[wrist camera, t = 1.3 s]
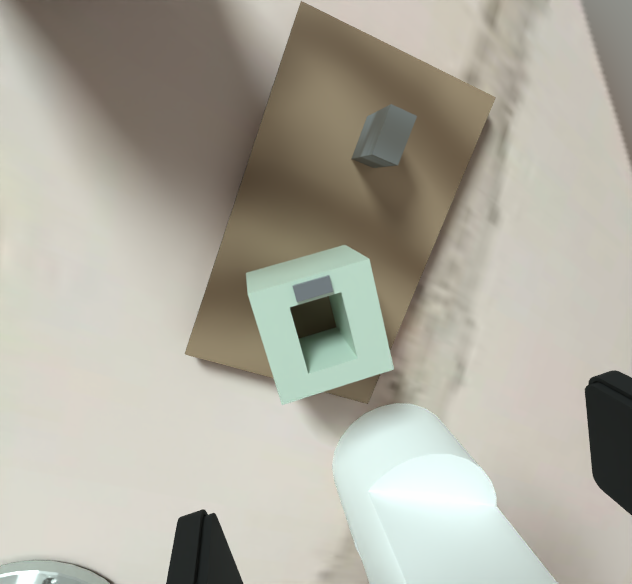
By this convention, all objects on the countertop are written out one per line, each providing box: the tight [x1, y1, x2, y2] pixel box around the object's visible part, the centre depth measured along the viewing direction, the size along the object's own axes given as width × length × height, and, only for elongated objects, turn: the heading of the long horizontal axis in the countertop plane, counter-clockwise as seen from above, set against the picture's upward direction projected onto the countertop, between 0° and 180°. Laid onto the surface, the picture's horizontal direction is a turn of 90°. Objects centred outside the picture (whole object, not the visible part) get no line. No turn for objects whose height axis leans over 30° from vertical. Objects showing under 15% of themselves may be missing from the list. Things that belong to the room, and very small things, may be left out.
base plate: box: [185, 1, 496, 404], centre depth 24 cm, size 20×12×6 cm, turn 160°
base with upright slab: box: [332, 403, 558, 584], centre depth 26 cm, size 9×9×12 cm
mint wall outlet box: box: [246, 245, 394, 405], centre depth 24 cm, size 6×6×5 cm
